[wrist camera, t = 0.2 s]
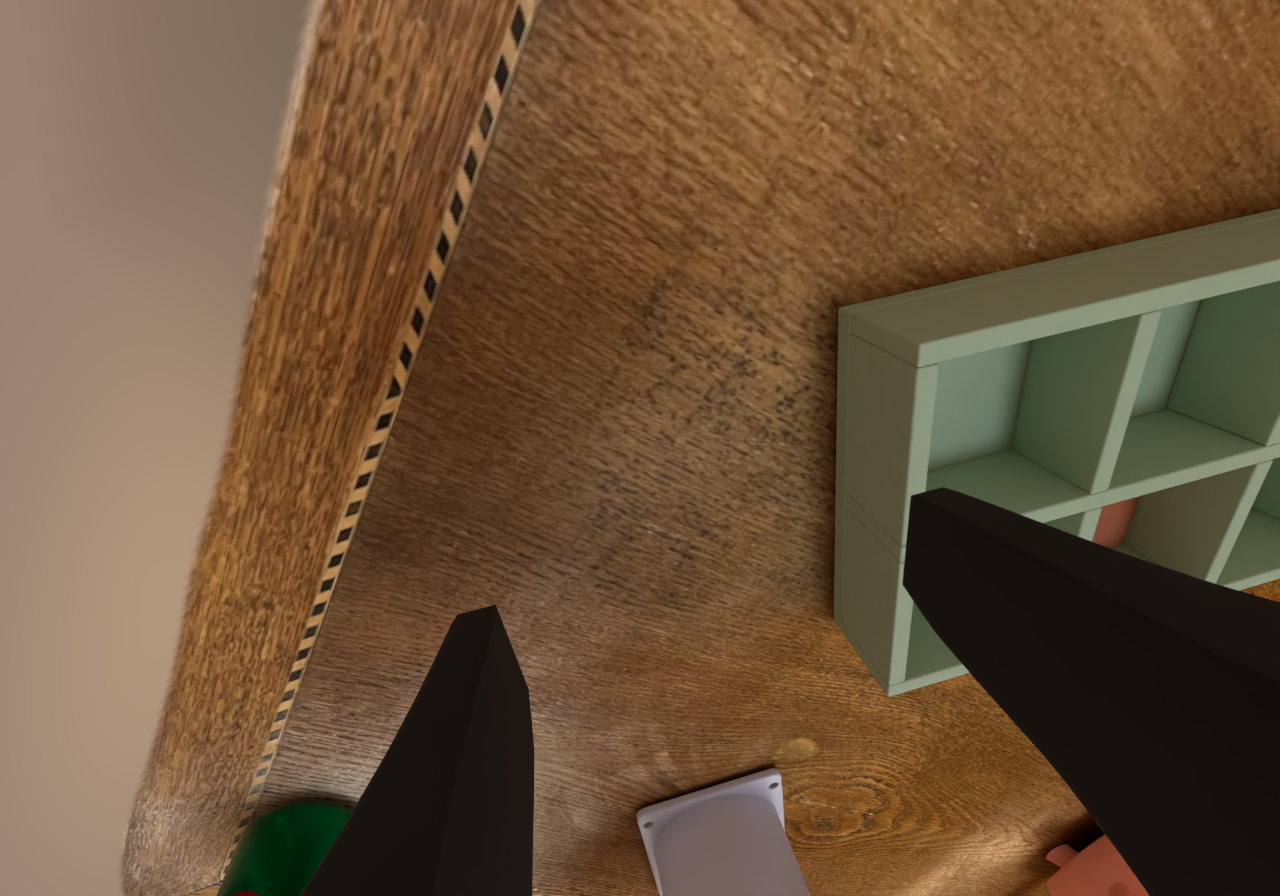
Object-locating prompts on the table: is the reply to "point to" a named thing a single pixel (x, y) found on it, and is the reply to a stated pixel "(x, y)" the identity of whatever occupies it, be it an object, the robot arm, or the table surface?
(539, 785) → the table surface
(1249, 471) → the tray
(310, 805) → the soda can
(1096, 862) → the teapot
